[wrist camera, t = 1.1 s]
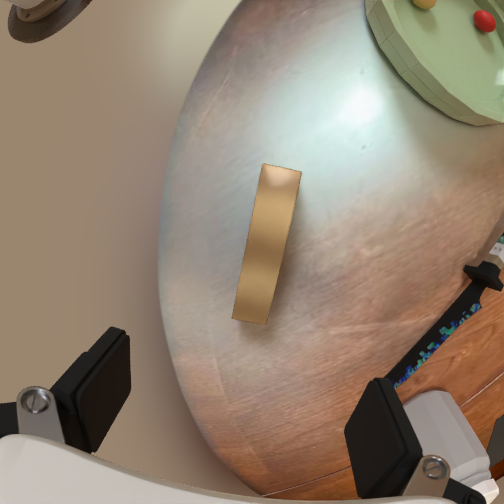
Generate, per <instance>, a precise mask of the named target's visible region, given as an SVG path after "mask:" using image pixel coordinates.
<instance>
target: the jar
mask: <svg viewBox="0 0 504 504" xmlns="http://www.w3.org/2000/svg"><path fill="white" fill-rule="evenodd" d="M402 406H403V408H404V410H405V412H406V414H407V416H408V418H409V420H410V422H411V425H412V427H413V429H414V431H415V433H416V436H417V438H418V440H419V442H420V445H421V447H422V449H423V452H422V453H423V456H426V455H437V456H440V457H442V458H443V459H445V461H446V462H447V463H448V464H449V466H450V470H451V473H450V478H452V479H454V480H456V481H458V482H460V483H462V484H464V485H466V486H468V487H470V488H472V489H474V490H477V491H478V492H480V493H481V494H482V495H483V496H484V497H485V499H486V503H487V504H490V503H491V502H492V501H493V500H494V498H496V496H497V495H498V494H499V489H498V487H497V485H496V483H495V481H494V479H490V478H491V473H490V471H489V470H488V469H489V464H490V460H489V456H488V454H487V453H486V451H485V449H484V447H483V446H482V444H481V442H480V441H479V439H478V437H477V436H476V434H475V432H474V431H473V429H472V428H471V426H470V424H469V423H468V421H467V419H466V418H465V416H464V415H463V413H462V412H461V410H460V408H459V407H458V405H457V404H456V402H455V401H454V399H453V398H452V396H451V395H450V393H448V392H443V391H437V390H431V391H428V392H424V393H421V394H418V395H416V396H415V397H413V398H412V399H410V400H409V401H407V402H406V403H404V404H403V405H402Z"/></svg>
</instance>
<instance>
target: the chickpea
mask: <svg viewBox="0 0 504 504" xmlns="http://www.w3.org/2000/svg"><path fill="white" fill-rule="evenodd" d="M412 2H413V3H414V4H415V5H416V6H418V7H420V8H422V9H431V8H433V7H434V6H435V5H436V2H437V0H412Z"/></svg>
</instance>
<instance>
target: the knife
mask: <svg viewBox="0 0 504 504" xmlns="http://www.w3.org/2000/svg"><path fill="white" fill-rule="evenodd" d="M503 267H504V232H503V234H502V235H501V237H500V238H499V240H498V241H497V243H496V244H495V245H494V247H493V248H492V249H491V251H490V252H489V254H488V255H487V256H486V258H485V259H484V260H483V261H482V263H481V264H480V265H479V266H478V267H473V266H468V265H465V267H464V270H463V271H464V272H465V273H466V274H467V275H468V276H469V277H470V278H471V279H472V280H473V281H472V282H471V283H470V284H469V285H468V287H467V288H466V289H465V290H464V291H463V293H462V294H461V295H460V296H459V297H458V298H457V299H456V300H455V302H454V303H453V304H452V305H451V306H450V307H449V308H448V310H447V311H446V312H445V313H444V314H443V315H442V316H441V318H440V319H439V320H438V321H437V322H436V323H435V324H434V325H433V326H432V327H431V329H430V330H429V331H428V332H427V333H426V334H425V335H424V336H423V337H422V338H421V339H420V340H419V341H418V343H417V344H416V345H415V346H414V347H413V348H412V349H411V350H410V351H409V352H408V353H407V354H406V355H405V356H404V357H403V359H402V360H401V361H400V362H399V363H398V364H397V365H396V366H395V367H394V368H393V369H392V370H391V371H390V372H389V373H388V374H387V375H386V376H385V377H384V378H388V379H390V381H391V383H392V385H393V387H394V389H395V388H397V387H398V386H399V385H401V384H402V383H403V382H404V381H405V380H407V379H408V378H409V377H410V376H411V375H412V374H413V373H414V372H415V371H416V370H417V369H418V368H419V367H420V366H421V365H422V364H423V363H424V362H425V361H426V360H427V359H428V358H429V357H430V356H431V355H432V354H433V353H434V352H435V351H436V350H437V349H438V347H439V346H440V345H441V344H442V343H443V342H444V341H445V340H446V339H447V338H448V337H449V336H450V335H451V334H452V333H453V332H454V331H455V330H456V329H457V328H458V327H459V326H460V325H461V324H462V323H463V322H464V321H465V320H467V319H468V318H469V317H470V316H472V315H473V314H474V313H475V312H477V311H478V310H479V309H481V308H482V306H481V305H480V301H479V300H480V296H481V294H482V292H483V291H484V289H485V288H486V287H488V288H491V289H494V290H497V291H500V292H501V291H502V289H503V287H504V285H503V283H502V282H501V281H500V279H499V278H498V276H499V274H500V271H501V269H502V268H503Z"/></svg>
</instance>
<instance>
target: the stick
mask: <svg viewBox="0 0 504 504" xmlns="http://www.w3.org/2000/svg"><path fill="white" fill-rule="evenodd" d="M301 174H302V172H301V171H296V170H292V169H287V168H283V167H278V166H273V165H269V164H263V165H262V169H261V174H260V179H259V184H258V189H257V194H256V199H255V204H254V209H253V214H252V219H251V224H250V228H249V233H248V238H247V243H246V248H245V253H244V258H243V263H242V268H241V273H240V278H239V284H238V289H237V294H236V299H235V304H234V309H233V314H232V319H236V320H241V321H246V322H251V323H256V324H261V325H266V324H267V320H268V316H269V312H270V308H271V304H272V300H273V296H274V292H275V288H276V284H277V279H278V275H279V271H280V267H281V263H282V259H283V254H284V250H285V246H286V242H287V237H288V233H289V229H290V224H291V220H292V215H293V211H294V206H295V202H296V197H297V193H298V188H299V184H300V179H301Z"/></svg>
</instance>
